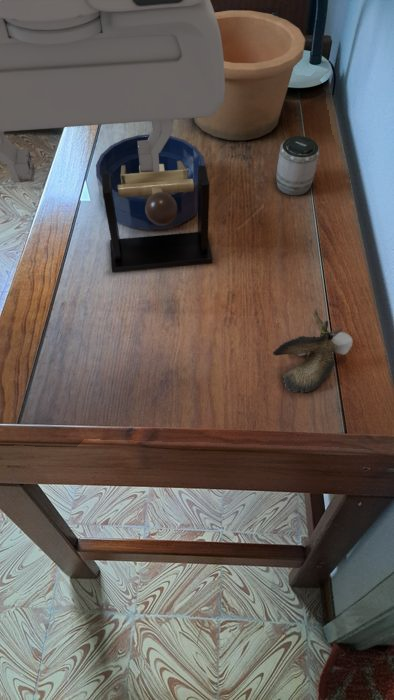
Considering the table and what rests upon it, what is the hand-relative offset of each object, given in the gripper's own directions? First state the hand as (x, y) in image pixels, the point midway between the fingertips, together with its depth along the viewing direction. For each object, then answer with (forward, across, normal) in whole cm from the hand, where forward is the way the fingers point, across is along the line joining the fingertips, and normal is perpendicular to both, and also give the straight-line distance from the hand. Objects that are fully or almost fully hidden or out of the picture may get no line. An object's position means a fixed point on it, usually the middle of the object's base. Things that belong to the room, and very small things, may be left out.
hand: (87, 172), depth 39 cm
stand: (+31, +6, +22) cm, 39 cm away
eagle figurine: (+31, +23, 0) cm, 39 cm away
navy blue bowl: (+31, +6, +36) cm, 48 cm away
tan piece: (+20, +6, +20) cm, 29 cm away
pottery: (+31, +24, +58) cm, 70 cm away
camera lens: (+31, +30, +36) cm, 56 cm away
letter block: (+29, +6, +34) cm, 45 cm away
